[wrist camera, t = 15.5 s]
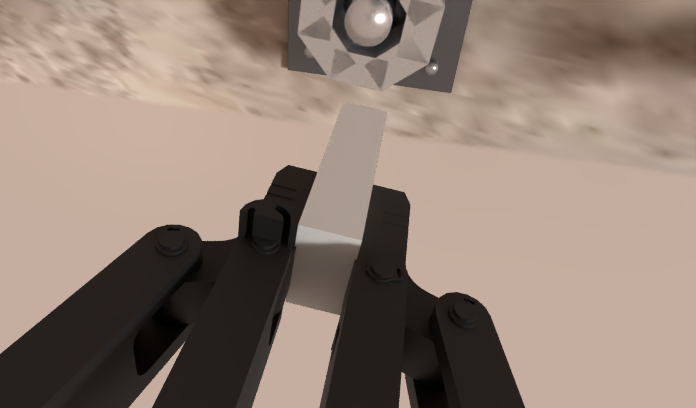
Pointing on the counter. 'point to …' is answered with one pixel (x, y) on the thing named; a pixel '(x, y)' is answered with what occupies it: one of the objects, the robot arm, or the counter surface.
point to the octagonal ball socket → (374, 61)
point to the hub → (374, 26)
